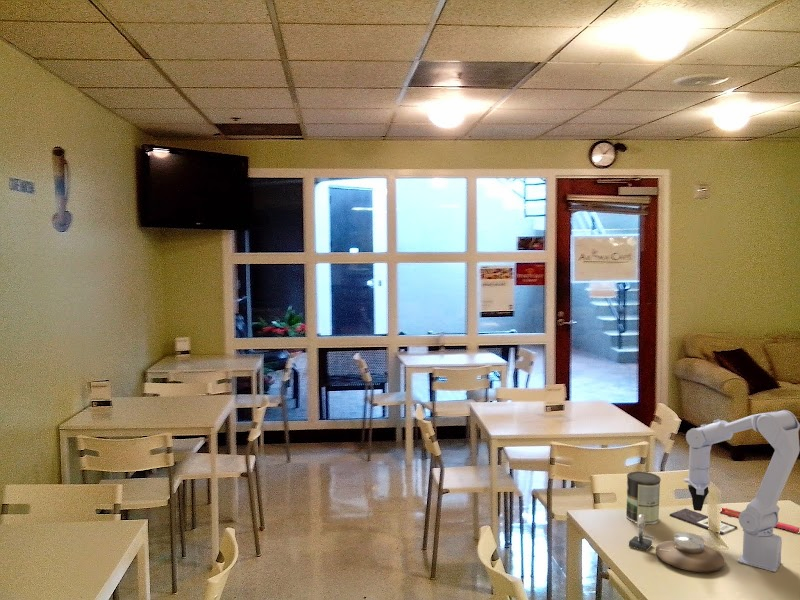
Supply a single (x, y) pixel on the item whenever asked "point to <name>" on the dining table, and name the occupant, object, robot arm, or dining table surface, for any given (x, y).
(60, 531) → the dining table surface
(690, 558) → the turntable
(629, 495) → the coffee can
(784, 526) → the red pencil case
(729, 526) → the chocolate bar
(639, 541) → the trophy
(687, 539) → the cover
